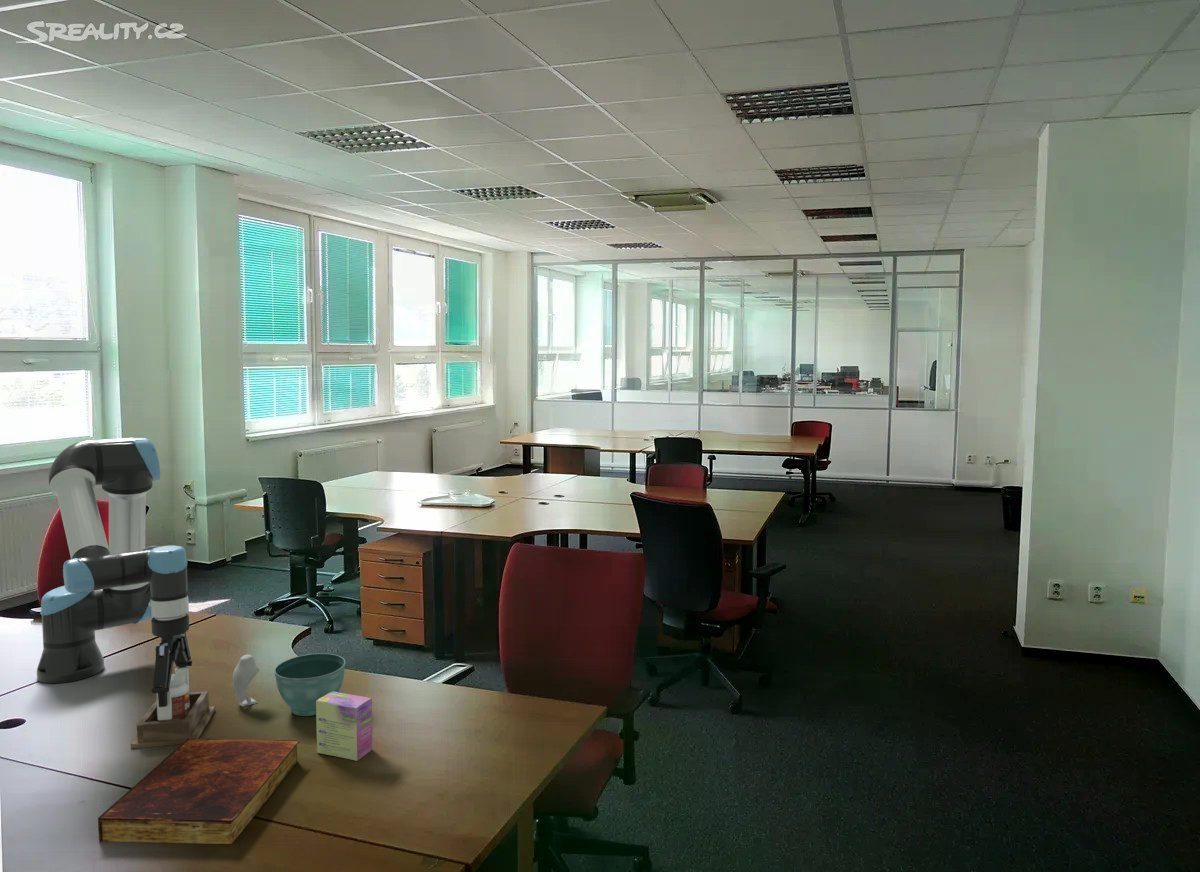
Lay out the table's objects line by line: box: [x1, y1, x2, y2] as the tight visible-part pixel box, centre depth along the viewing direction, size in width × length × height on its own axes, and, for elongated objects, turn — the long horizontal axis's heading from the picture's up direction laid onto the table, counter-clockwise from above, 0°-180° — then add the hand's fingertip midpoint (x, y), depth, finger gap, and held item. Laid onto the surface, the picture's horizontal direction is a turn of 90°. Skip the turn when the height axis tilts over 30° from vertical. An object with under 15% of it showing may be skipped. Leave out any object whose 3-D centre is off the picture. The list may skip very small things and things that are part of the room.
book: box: [97, 738, 300, 845], centre depth 155 cm, size 30×24×5 cm
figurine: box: [232, 654, 260, 708], centre depth 197 cm, size 8×5×12 cm
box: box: [315, 691, 373, 762], centre depth 173 cm, size 10×6×12 cm, turn 71°
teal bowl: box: [273, 652, 346, 717], centre depth 194 cm, size 16×16×11 cm
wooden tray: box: [130, 690, 216, 749], centre depth 184 cm, size 17×13×5 cm
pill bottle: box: [159, 673, 190, 721], centre depth 183 cm, size 6×6×11 cm
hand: (174, 706), depth 183 cm, fingers open, 12 cm apart
